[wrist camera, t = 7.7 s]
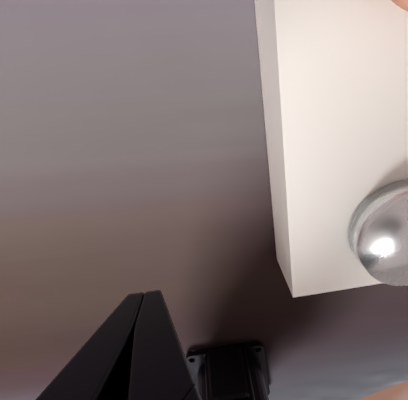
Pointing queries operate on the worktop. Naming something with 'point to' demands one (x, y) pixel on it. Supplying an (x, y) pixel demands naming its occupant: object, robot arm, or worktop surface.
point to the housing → (330, 127)
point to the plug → (383, 234)
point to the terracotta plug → (401, 4)
